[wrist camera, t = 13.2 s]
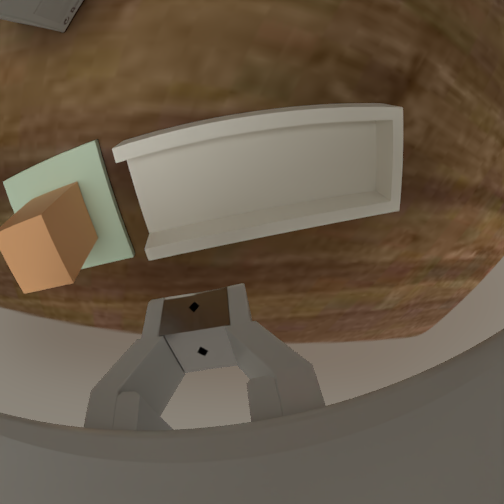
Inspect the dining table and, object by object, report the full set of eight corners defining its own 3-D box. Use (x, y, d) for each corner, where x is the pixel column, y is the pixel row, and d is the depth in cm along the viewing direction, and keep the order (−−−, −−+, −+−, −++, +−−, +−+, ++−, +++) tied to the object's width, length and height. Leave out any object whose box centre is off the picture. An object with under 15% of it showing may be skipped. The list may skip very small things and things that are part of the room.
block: (77, 181, 18) (41, 214, 13) (98, 237, 21) (73, 283, 16) (31, 199, 18) (-8, 234, 13) (53, 250, 21) (24, 293, 15)
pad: (97, 139, 17) (94, 140, 17) (135, 253, 23) (133, 256, 22) (6, 179, 17) (2, 181, 16) (47, 273, 22) (45, 277, 22)
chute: (381, 103, 19) (402, 107, 17) (380, 197, 24) (399, 210, 21) (124, 140, 18) (112, 148, 15) (154, 240, 23) (148, 260, 20)
